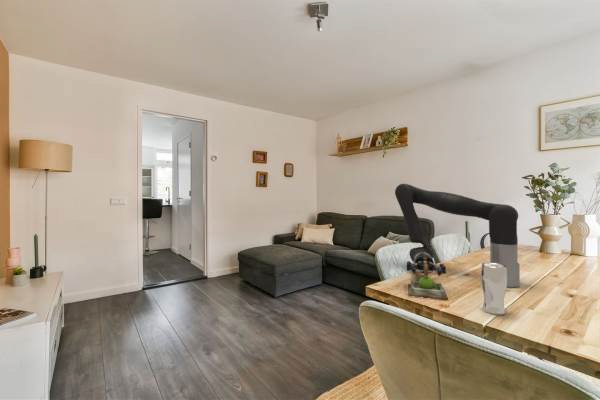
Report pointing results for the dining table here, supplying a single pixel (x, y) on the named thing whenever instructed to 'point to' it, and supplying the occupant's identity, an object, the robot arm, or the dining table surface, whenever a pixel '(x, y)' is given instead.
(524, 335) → the dining table surface
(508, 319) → the dining table surface
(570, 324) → the dining table surface
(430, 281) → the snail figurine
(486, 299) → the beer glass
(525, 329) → the dining table surface
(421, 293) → the grey shallow tray
